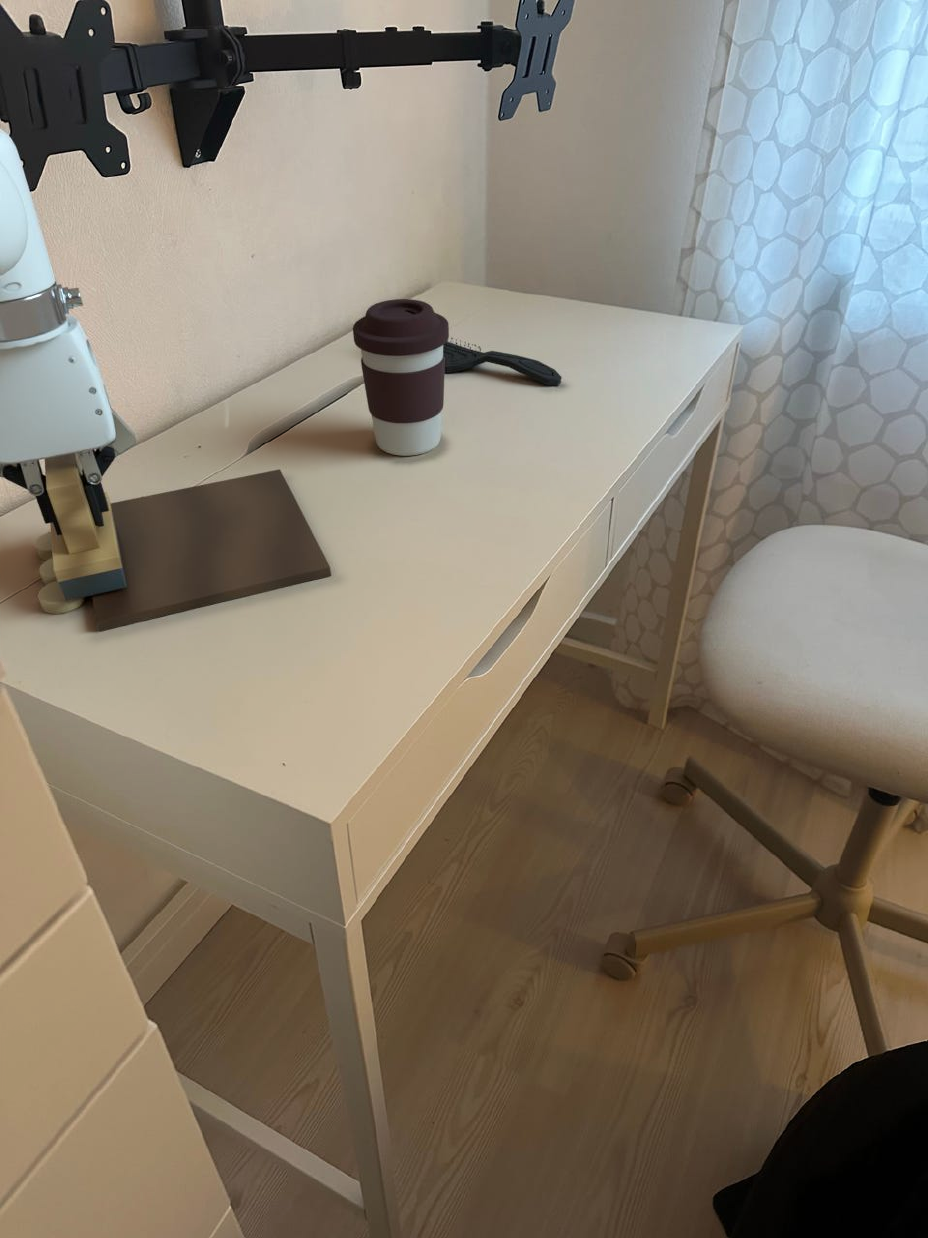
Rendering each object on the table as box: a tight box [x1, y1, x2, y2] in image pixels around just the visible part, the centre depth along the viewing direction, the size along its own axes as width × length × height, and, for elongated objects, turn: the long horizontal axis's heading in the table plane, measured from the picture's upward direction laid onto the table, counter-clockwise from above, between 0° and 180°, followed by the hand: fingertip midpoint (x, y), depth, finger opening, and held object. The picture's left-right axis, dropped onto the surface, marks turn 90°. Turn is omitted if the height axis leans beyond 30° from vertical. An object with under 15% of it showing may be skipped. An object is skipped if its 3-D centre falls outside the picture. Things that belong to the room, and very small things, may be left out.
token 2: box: [38, 558, 57, 586], centre depth 81 cm, size 4×4×1 cm
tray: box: [91, 468, 332, 632], centre depth 84 cm, size 20×20×1 cm
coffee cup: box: [352, 298, 450, 457], centre depth 96 cm, size 10×10×15 cm
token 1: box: [34, 531, 53, 561], centre depth 84 cm, size 4×4×1 cm
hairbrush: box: [443, 337, 562, 387], centre depth 116 cm, size 8×4×25 cm
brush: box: [44, 453, 127, 601], centre depth 78 cm, size 5×12×10 cm, turn 22°
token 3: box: [37, 581, 86, 615], centre depth 77 cm, size 4×4×1 cm
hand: (79, 521), depth 78 cm, fingers closed on brush, 2 cm apart
